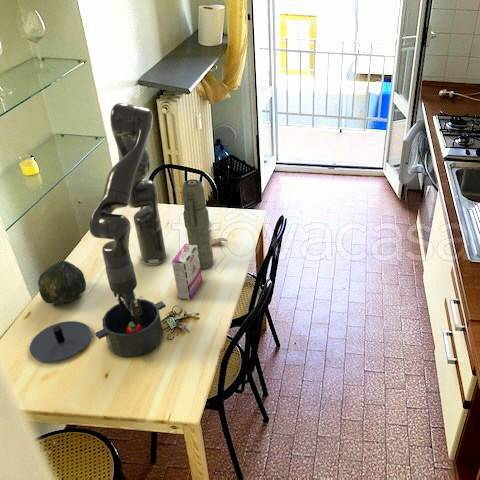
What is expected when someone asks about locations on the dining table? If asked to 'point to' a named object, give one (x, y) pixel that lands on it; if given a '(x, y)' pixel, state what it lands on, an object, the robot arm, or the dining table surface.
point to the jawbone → (216, 241)
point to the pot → (137, 341)
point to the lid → (60, 341)
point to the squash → (61, 283)
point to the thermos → (197, 221)
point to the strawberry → (133, 328)
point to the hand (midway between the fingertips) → (131, 316)
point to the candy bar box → (187, 271)
